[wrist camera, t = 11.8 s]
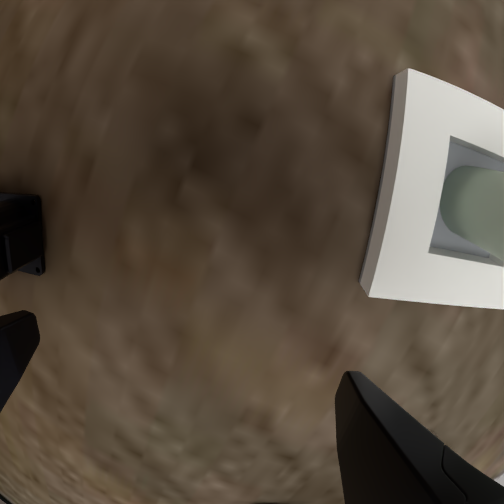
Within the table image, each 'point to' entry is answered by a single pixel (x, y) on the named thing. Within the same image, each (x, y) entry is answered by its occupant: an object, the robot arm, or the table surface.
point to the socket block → (432, 197)
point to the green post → (475, 207)
